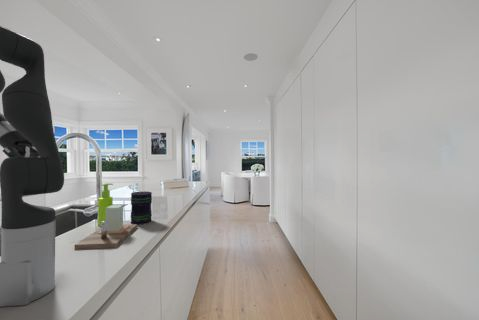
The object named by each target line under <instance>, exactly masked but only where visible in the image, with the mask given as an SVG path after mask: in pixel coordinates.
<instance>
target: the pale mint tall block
mask: <svg viewBox="0 0 479 320" xmlns="http://www.w3.org/2000/svg"><path fill="white" fill-rule="evenodd" d="M106 221H107V231H119V230H120V229H121V228H122V227H123V225H124V204H118V205H117V204H114V205H111V206H109V207H107V208H106Z"/></svg>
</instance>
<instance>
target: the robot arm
mask: <svg viewBox="0 0 479 320" xmlns="http://www.w3.org/2000/svg"><path fill="white" fill-rule="evenodd" d="M0 61H2V62H4V63H7V64H11V65H13V66H16V67H18V68H21V69H23V70H24V71H25V74H24V75H23V76H22V77H20V78H19V79H17V80H15V81H13V82H12V83H10V84H8V86H6V79H5V76H4V75H3V72H2V70H0V94H1V104H2V112H3V113H2V112H0V147H2V148H3V150H2V152H3V153H4V154H5V155H6V156H7V157H6V158H4V159H3V160H2V162H1V164H0V195H1V196H0V198H1V199H0V200H1V224H0V227H1V229H0V231H1V233H0V234H1V237H0V238H1V239H0V241H1V242H0V243H1V244H0V307H1V308H2V307H13V306H14V307H15V306H26V305H29V304H31V302H33V301H35V300H38V299H40V298H42V297H44V296H46V295H47V294H48V293H50V292H51V291H52V290H53V289H54V288H55V286H56V285H55V282H56V280H55V279H56V217H57V216H56V210H55V209H54V208H53V207H50V206H44V205H35V204H30V203H28V202H27V201H26V202H25V201H24V200H23V197H25V196H35V195H44V194H53V193H58V192H60V191H61V190H62V189H63V187H64V186H65V185H64V184H65V171H64V167H63V162H62V159H61V155H60V151H59V148H58V146H57V141H56V138H55V131H54V126H53V118H52V117H53V116H52V110H51V103H50V100H49V95H48V89H47V85H46V84H47V83H46V76H45V75H46V73H45V53H44V49H43V47H42V45H40V44H39V43H38V42H36V41H35V40H33V39H30V38H29V37H27V36H24V35H22V34H20V33H17V32H15V31H14V30H11V29H9V28H7V27H4V26H1V25H0Z"/></svg>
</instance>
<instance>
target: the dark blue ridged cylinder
mask: <svg viewBox="0 0 479 320" xmlns="http://www.w3.org/2000/svg"><path fill="white" fill-rule="evenodd" d="M130 195H131V197H130V205H131V211H130V220H131V221H130V224H137V226H139V225H145V224H146V225H147V224H149V223H151V222H152V202H153V197H152V195H153V194H152V191H135V192H131V193H130Z"/></svg>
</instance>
